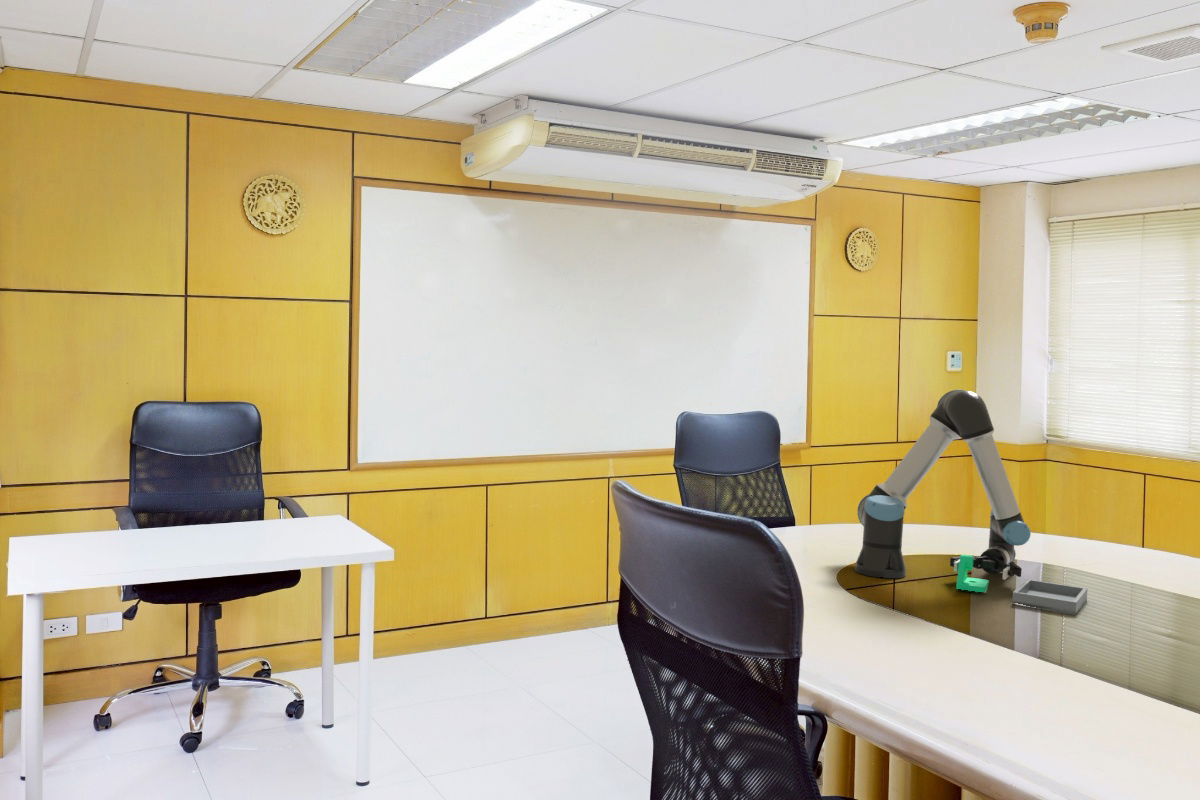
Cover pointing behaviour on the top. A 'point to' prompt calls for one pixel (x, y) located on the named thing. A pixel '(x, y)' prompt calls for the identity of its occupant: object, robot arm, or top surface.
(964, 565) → the camera mount
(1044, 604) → the tray
